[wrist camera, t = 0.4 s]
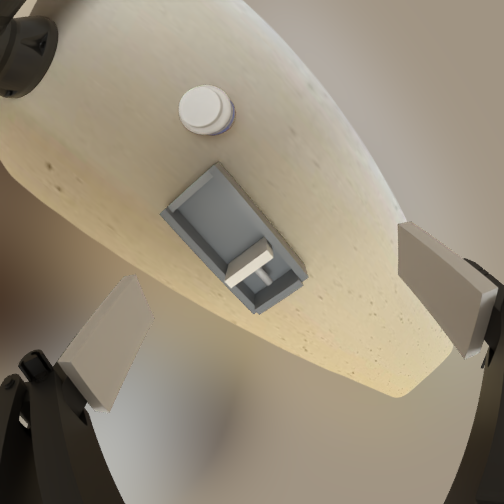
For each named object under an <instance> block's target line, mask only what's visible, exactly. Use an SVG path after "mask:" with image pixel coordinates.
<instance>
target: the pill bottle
mask: <svg viewBox="0 0 504 504" xmlns="http://www.w3.org/2000/svg"><path fill="white" fill-rule="evenodd" d="M235 116H236V112H235V107H234V105H233V103H232V102H231V100H230V99H229V97H228V96H227V94H226V93H225V92H224V91H223V90H222V89H220V88H218V87H216V86H213V85H200V86H197V87H194V88H192V89H190V90H188V91H187V92H186V93H185V94H184V95H183V96H182V98H181V100H180V103H179V117H180V120H181V122H182V124H183V125H184V126H185V127H186V128H187V129H188V130H189V131H191V132H193V133H196V134H201V135H218V134H221V133H224V132H225V131H227V130H228V129H229V128H230V127H231V126H232V124H233V123H234V120H235Z"/></svg>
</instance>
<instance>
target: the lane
mask: <svg viewBox="0 0 504 504" xmlns="http://www.w3.org/2000/svg"><path fill="white" fill-rule="evenodd" d="M160 215H161V216H162V218H163V219H164V220H165V221H166V222H167V223H168V224H169V225H170V226H171V228H172V229H173V230H174V231H175V232H176V233H177V234H178V235H179V236H180V237H181V239H182V240H183V241H184V242H185V243H186V244H187V245H188V246H189V247H190V248H191V249H192V251H193V252H194V253H195V254H196V255H197V256H198V257H199V258H200V259H201V260H202V261H203V262H204V263H205V264H206V266H207V267H208V268H209V269H210V270H211V271H212V272H213V273H214V274H215V275H216V276H217V277H218V278H219V279H220V280H221V281H222V282H223V283H224V284H225V285H226V287H227V288H228V289H229V290H230V291H231V292H232V293H233V294H234V295H235V296H236V297H237V298H238V299H239V300H240V301H241V302H242V303H243V304H244V305H245V306H246V307H247V308H248V309H249V310H250V311H251V312H252V313H253V314H255V313H256V312H257V313H258V314H259V315H260V314H261V313H263V312H264V311H266V310H267V309H269V308H271V307H272V306H274V305H275V304H277V303H278V302H280V301H281V300H283V299H284V298H286V297H287V296H289V295H290V294H292V293H293V292H295V291H296V290H298V289H299V288H300V287H302V286H303V283H302V282H303V281H304V280H306V279H307V278H308V274H307V271H306V267H305V265H304V263H303V262H302V261H301V260H300V258H299V257H298V256H297V255H296V253H295V252H294V251H293V250H292V248H291V247H290V246H289V245H288V243H287V242H286V241H285V240H284V239H283V237H282V236H281V235H280V234H279V232H278V231H277V230H276V229H275V228H274V226H273V225H272V224H271V223H270V222H269V220H268V219H267V218H266V217H265V216H264V214H263V213H262V212H261V211H260V210H259V208H258V207H257V206H256V205H255V204H254V202H253V201H252V200H251V199H250V198H249V196H248V195H247V194H246V193H245V192H244V190H243V189H242V188H241V187H240V186H239V185H238V183H237V182H236V181H235V180H234V179H233V178H232V176H231V175H230V174H229V173H228V172H227V171H226V169H225V168H224V167H223V166H222V165H221V164H220V163H219V162H218V163H216V164H214V165H213V166H212V167H211V168H209V169H208V171H206V172H205V173H204V174H203V175H202V176H201V177H200V178H198V179H197V180H196V181H195V182H194V183H193V184H192V185H191V186H189V187H188V188H187V189H186V190H185V191H184V192H183V193H182V194H181V195H180V196H178V197H177V198H176V199H175V200H174V201H173V202H172V203H171V204H170V205H169V206H168V207H167V208H165V209H164V210H163V211H162V212H161V213H160ZM263 237H265V238H266V239H267V240H268V241H269V243H270V244H271V245H272V248H273V259H271V260H270V261H268V262H267V263H266V264H264V265H263V266H261V268H262V269H263V270H264V271H265V272H266V273H267V274H268V275H269V277H270V278H271V279H272V280H273V282H272V284H270V285H269V286H267V285H266V284H265V283H264V282H263V280H262V279H261V278H260V277H259V276H258V275H257V274H256V273H255V272H253V273H252V274H250V275H249V276H248V277H246V278H245V279H243V280H242V281H241V282H239V283H238V284H236V285H235V286H234V287H232V288H230V287H229V286H228V285H227V284H226V283H225V282H224V280H225V276H226V272H227V268H228V264H229V263H230V262H232V261H233V260H234V259H236V258H237V257H238V256H240V255H241V254H242V253H243V252H245V251H246V250H247V249H249V248H250V247H251V246H253V245H254V244H255V243H257V242H258V241H259V240H261V239H262V238H263Z"/></svg>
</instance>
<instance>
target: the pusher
mask: <svg viewBox="0 0 504 504" xmlns="http://www.w3.org/2000/svg"><path fill="white" fill-rule="evenodd" d="M271 259H273V248H272V245H271V244H270V243H269V241H268V240H267V239H266V238H265V237H263V238H262V239H261V240H259V241H258V242H257V243H255V244H254V245H253V246H251V247H250V248H249V249H247V250H246V251H245V252H243V253H242V254H241V255H240V256H238V257H237V258H236V259H234V260H233V261H232V262H230V263H229V264H228V268H227V272H226V276H225V280H224V282H225V283H226V284H227V285H228V286H229V287H230V288H232V287H234V286H235V285H236V284H238V283H239V282H241V281H242V280H243V279H245V278H246V277H248V276H249V275H250V274H252V273H253V272H255V273H256V274H257V275H258V276H259V277H260V278H261V279H262V280H263V282H264V283H265V284H266V285H267V286H269V285H270V284H272V282H273V280H272V279H271V278H270V277H269V275H268V274H267V273H266V272H265V271H264V270H263V269H262V268H261V266H263V265H264V264H266V263H267V262H268V261H270V260H271Z"/></svg>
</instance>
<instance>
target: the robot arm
mask: <svg viewBox="0 0 504 504" xmlns="http://www.w3.org/2000/svg"><path fill="white" fill-rule="evenodd" d="M25 1H26V0H0V96H2V97H5V98H19V97H22V96H24V95H26V94H27V93H29V92H30V91H31V90H32V89H33V88H34V87H35V86H36V85H37V84H38V83H39V82H40V80H41V79H42V77H43V76H44V74H45V73H46V71H47V69H48V67H49V65H50V63H51V61H52V59H53V56H54V53H55V50H56V46H57V39H58V32H57V27H56V25H55V23H54V22H53V21H52V20H51V19H48V18H46V17H43V16H29V17H21V18H13V17H14V15H15V14H16V13H17V11H18V10H19V9H20V8H21V6H22V5H23V4H24V3H25ZM398 275H399V276H400V277H401V279H402V280H403V281H404V282H405V283H406V284H407V286H408V287H409V288H410V289H411V290H412V292H413V293H414V294H415V295H416V296H417V298H418V299H419V300H420V301H421V303H422V304H423V305H424V306H425V307H426V309H427V310H428V311H429V313H430V314H431V315H432V316H433V318H434V319H435V320H436V321H437V323H438V324H439V325H440V327H441V328H442V329H443V331H444V332H445V333H446V335H447V336H448V337H449V339H450V340H451V341H452V343H453V344H454V346H455V347H456V348H457V350H458V351H459V353H460V354H461V355H462V357H463V358H464V359H467V358H469V357H471V356H473V355H476V354H478V353H479V352H480V350H481V347H482V344H483V341H484V340H485V341H486V342H487V344H488V345H489V348H488V351H487V354H486V356H485V358H484V361H483V364H482V366H481V368H484V365H485V368H484V376H483V381H482V387H481V392H480V397H479V402H478V406H477V411H476V415H475V419H474V423H473V426H472V430H471V433H470V437H469V440H468V443H467V446H466V450H465V452H464V456H463V458H462V461H461V464H460V466H459V469H458V472H457V474H456V477H455V479H454V482H453V484H452V487H451V489H450V491H449V493H448V495H447V498H446V500H445V502H444V504H504V285H503V284H501V283H500V282H499V281H498V280H497V279H495V278H494V277H493V276H492V275H490V274H489V273H488V272H487V271H486V270H483V268H482V267H480V266H479V265H478V264H476V263H475V262H473V261H471V260H468V259H465V258H464V259H463V258H461V257H460V256H458V255H457V254H456V253H454V252H453V251H452V250H451V249H449V248H448V247H446V246H445V245H444V244H443V243H441V242H440V241H438V240H437V239H435V238H434V237H433V236H431V235H430V234H429V233H427V232H426V231H424V230H423V229H421V228H420V227H418V226H417V225H415V224H414V223H412V222H406V223H400V224H398ZM153 320H154V316H153V314H152V312H151V310H150V307H149V305H148V302H147V300H146V298H145V295H144V293H143V291H142V288H141V286H140V283H139V281H138V279H137V276H136V274H135V275H129V276H124V277H123V278H122V279H121V280H120V282H119V283H118V284H117V285H116V287H115V288H114V289H113V290H112V291H111V293H110V294H109V295H108V296H107V297H106V298H105V300H104V301H103V302H102V303H101V305H100V306H99V307H98V308H97V310H96V311H95V312H94V313H93V315H92V316H91V317H90V319H89V320H88V321H87V323H86V324H85V325H84V326H83V328H82V329H81V330H80V331H79V333H78V334H77V335H76V336H75V337H74V339H73V340H72V342H71V343H70V344H69V345H68V347H67V349H66V350H65V351H64V352H63V354H62V355H61V356H60V358H59V359H58V361H57V362H56V363H55V365H54V366H52V365H51V364H50V362H49V361H48V359H47V358H46V356H45V355H44V353H43V352H42V351H41V350H34V351H31V352H29V353H28V354H26V355H25V356H24V357H23V358H22V359H21V361H20V363H19V365H18V367H19V368H20V369H21V371H22V372H23V373H24V375H25V376H26V378H27V379H28V381H29V382H25V383H24V381H23V380H22V379H21V377H20V376H19V375H18V374H12V375H9V376H8V377H6V378H5V379H4V381H3V382H2V384H1V386H0V504H125V503H124V501H123V499H122V497H121V495H120V493H119V491H118V489H117V486H116V484H115V482H114V480H113V478H112V476H111V473H110V471H109V469H108V466H107V464H106V461H105V459H104V456H103V454H102V451H101V448H100V446H99V443H98V440H97V438H96V435H95V432H94V429H93V426H92V422H91V419H90V416H89V413H88V412H87V411H86V409H85V408H84V407H85V405H86V403H87V402H88V404H90V406H91V407H92V408H93V409H94V411H96V412H103V413H110V410H111V408H112V406H113V404H114V401H115V399H116V397H117V395H118V393H119V390H120V388H121V386H122V384H123V381H124V380H125V378H126V375H127V373H128V371H129V369H130V367H131V365H132V363H133V361H134V359H135V357H136V354H137V352H138V351H139V349H140V346H141V344H142V342H143V340H144V338H145V336H146V334H147V332H148V330H149V329H150V326H151V324H152V323H153ZM19 416H21V417H22V418H23V419H24V420H25V421H26V423H28V427H27V428H25V427H24V426H23V425H22V424H21V423H20V421H19Z"/></svg>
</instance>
